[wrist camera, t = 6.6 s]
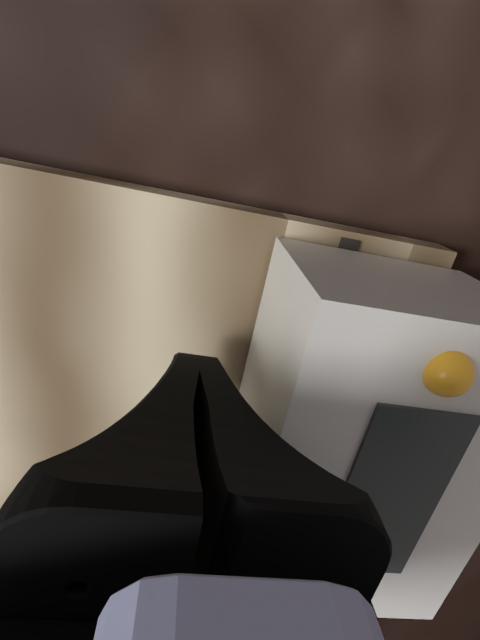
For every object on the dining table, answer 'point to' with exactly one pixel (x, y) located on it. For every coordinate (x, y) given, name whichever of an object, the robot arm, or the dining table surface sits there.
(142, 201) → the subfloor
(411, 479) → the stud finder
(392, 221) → the dining table surface
